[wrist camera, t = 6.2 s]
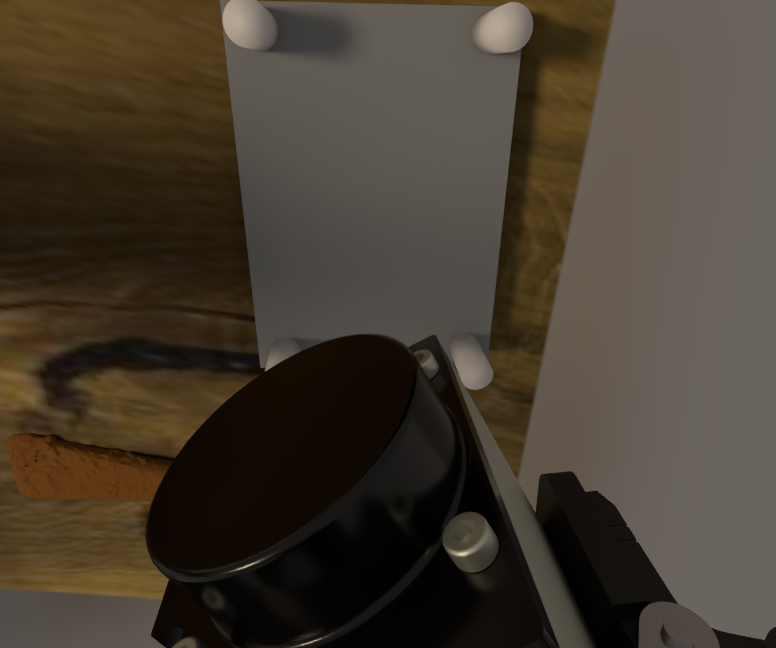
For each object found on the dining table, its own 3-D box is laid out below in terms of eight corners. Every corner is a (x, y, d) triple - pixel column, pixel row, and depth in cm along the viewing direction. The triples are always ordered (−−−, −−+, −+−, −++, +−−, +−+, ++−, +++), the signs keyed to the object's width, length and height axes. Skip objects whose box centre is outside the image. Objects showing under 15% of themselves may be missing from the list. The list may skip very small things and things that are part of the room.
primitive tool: (23, 491, 36) (-7, 530, 33) (7, 427, 34) (-27, 462, 31) (300, 496, 39) (297, 533, 36) (302, 436, 36) (299, 470, 33)
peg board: (481, 349, 34) (503, 391, 29) (263, 355, 33) (251, 400, 28) (516, 10, 26) (553, -3, 21) (226, 4, 25) (200, -12, 20)
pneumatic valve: (382, 211, 14) (533, 692, 3) (535, 491, 19) (794, 1046, 8) (211, 307, 15) (-135, 951, 4) (400, 551, 20) (475, 1131, 9)
